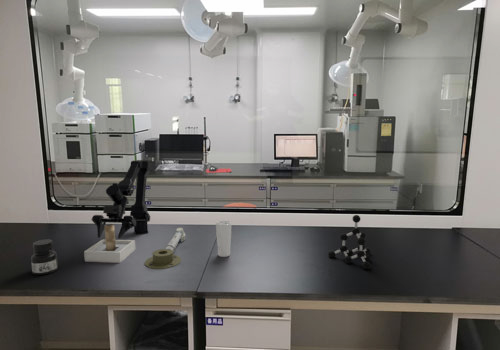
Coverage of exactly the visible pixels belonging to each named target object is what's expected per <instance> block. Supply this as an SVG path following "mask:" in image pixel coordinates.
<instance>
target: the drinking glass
mask: <svg viewBox="0 0 500 350" xmlns="http://www.w3.org/2000/svg"><path fill="white" fill-rule="evenodd" d="M215 234H216V245H217V256H219V257H220V258H226V257H229V256H230V255H231V241H232V222H231V221H229V220H218V221H217V222H215Z"/></svg>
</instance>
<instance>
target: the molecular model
mask: <svg viewBox="0 0 500 350" xmlns="http://www.w3.org/2000/svg"><path fill="white" fill-rule="evenodd" d="M351 220H352V221H353V222H354V227H353V228H352V229H351V232H349V233H346V232H343V233H341V234H340V235H339V238H340V240H342V243H341V244H342V245H340V246H339V249H337V250H336V251H334V250H329V251H328V253H327V255H328V257H329V258H332V259H334V258H335V257H336V255H337V254H339V253H343V254H344V256H345V257H344V262H345V263H346V264H351V263H352V262H353V261H354V259H356V258H359V259H361V260H362V264H361V265H362V268H363V269H364V270H369V269H370V268H371V266H372V265H371V262H370V261H371V255H370V254H371V252H372V251H371V249H370V248H369V247H366V246H365V244H366V237H367V236H366V233H365V232H364V231H360V228H359V227H358V223H360V221H361V216H360V215H358V214H355V215H353V216H352V219H351ZM352 235H354V236H356V237H357V240H356V241H357V247H356V248H354V249H351V248H348V247H347V246H346V241H347V240H348V238H349V237H350V236H352ZM355 252H356V254H355V255H354V253H355Z"/></svg>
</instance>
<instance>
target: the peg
mask: <svg viewBox="0 0 500 350" xmlns="http://www.w3.org/2000/svg"><path fill="white" fill-rule="evenodd" d="M104 227H105V228H104V237H105V241H106V251H115V250H116V245H115V240H116V233H115V225H114V223H113V224H112V223H111V224H105V225H104Z"/></svg>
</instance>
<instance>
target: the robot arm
mask: <svg viewBox="0 0 500 350" xmlns="http://www.w3.org/2000/svg"><path fill="white" fill-rule="evenodd" d="M152 166H153V165H152V162H151V161H150V160H148V159H138V160H131V161H130V165H129V168H128V170H127V171H126V173H125V176H124V178H123V179H122V180H119V182H118V183H114V182H113V183H112V184H111V185H110V186H108V187H107V188H106V189H105V194H106V195H107V196H108V197H109V199H110V200H111V201H112V202H113V204H112V205H104V206H103V214H105V215H106V217H104V216H103V214H94V215H93V216H92V218H91V221H92V223H93V224H94V225H96V227H97V229H96V230H97V237H98V239H100V238H101V236H102V234H103V232H104V231H105V227H104V226H105V225H107V223H111V224H112V223H113V224H114V223H116V224H119V223H121V226H120V229H119V233H118V236H117V238H118V240H121V238H122V237H123V236H124V235H125V234H126V233H127V232H128V231H129V230H130V229H133V233H135V235H140V234H142V235H143V234H148V233H149V230H148V222H150V221H151V215H150V213H149V212H148V207H147V204H146V202H145V201H146V192H147V191H146V190H147V189H146V188H147V177H148V176H149V174H150V173H151V168H152ZM135 181H136V190H135V187H134V183H135ZM134 191H135V202H134V204H133V205H131V208H130V213H129V215H125V214H126V211H125V210H126V208H127V205H129V204H130V203H129V199H128V197H131V196H132V195H133V194H134Z"/></svg>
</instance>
